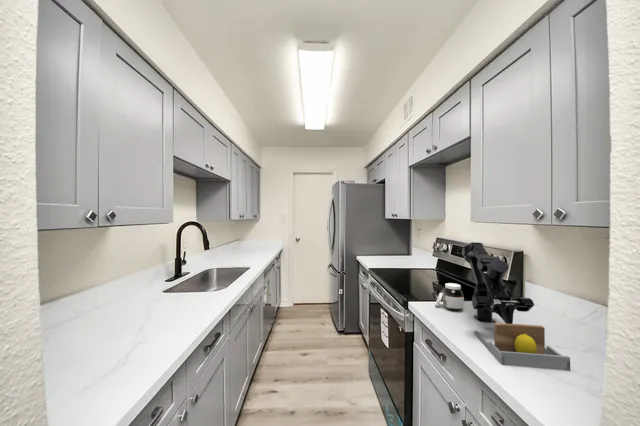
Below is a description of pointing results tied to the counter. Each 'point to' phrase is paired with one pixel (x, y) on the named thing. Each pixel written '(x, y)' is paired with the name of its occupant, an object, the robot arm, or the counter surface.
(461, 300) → the spread jar
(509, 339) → the board
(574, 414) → the counter surface
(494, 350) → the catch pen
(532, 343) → the lemon
